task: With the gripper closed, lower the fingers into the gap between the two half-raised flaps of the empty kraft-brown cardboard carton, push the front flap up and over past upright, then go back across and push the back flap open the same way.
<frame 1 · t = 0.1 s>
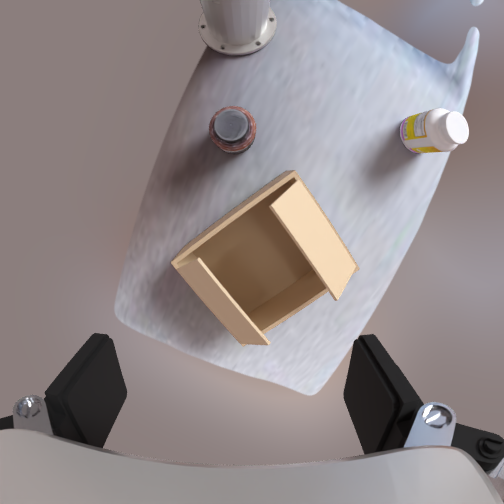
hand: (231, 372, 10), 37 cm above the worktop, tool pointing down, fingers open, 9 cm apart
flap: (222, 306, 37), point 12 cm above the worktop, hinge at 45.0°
supplement bottle: (413, 134, 43), on the worktop
carton: (264, 248, 47), on the worktop
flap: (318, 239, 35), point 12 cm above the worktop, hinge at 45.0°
supplement bottle 2: (235, 135, 43), on the worktop
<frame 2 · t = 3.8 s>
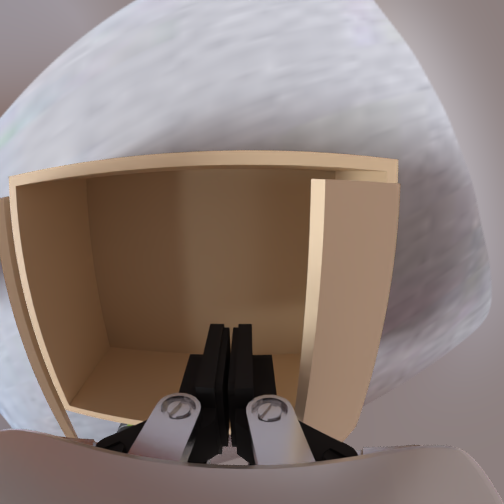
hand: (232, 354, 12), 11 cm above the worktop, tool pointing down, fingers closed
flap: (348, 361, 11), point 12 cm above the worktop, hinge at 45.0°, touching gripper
carton: (206, 268, 22), on the worktop
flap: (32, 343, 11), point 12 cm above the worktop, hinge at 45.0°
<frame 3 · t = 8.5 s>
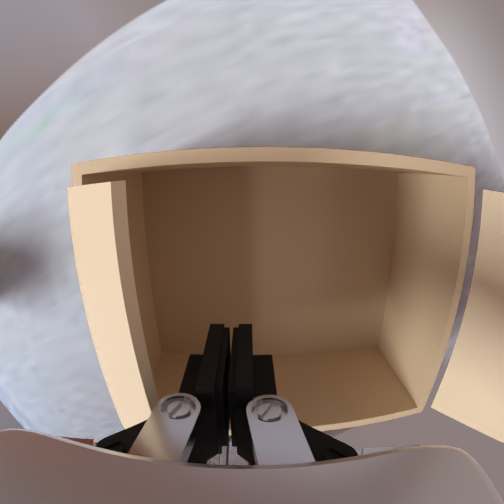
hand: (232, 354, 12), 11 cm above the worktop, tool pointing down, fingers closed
carton: (273, 267, 22), on the worktop
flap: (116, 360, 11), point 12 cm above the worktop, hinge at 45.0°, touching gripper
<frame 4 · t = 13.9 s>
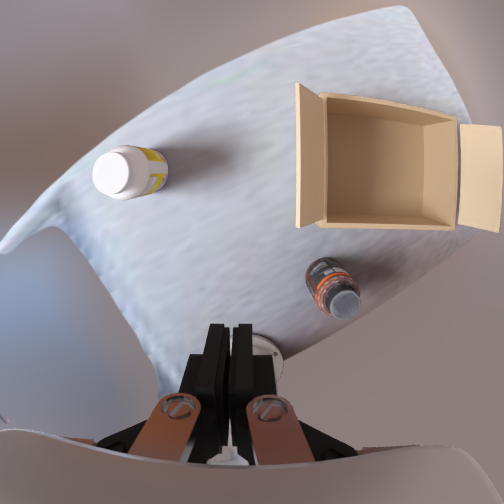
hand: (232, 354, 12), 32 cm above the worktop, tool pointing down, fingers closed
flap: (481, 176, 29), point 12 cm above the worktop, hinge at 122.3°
supplement bottle: (148, 172, 41), on the worktop
carton: (371, 165, 40), on the worktop
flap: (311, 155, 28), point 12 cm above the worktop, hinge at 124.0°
supplement bottle 2: (323, 275, 45), on the worktop
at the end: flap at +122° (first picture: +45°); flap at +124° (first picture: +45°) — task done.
